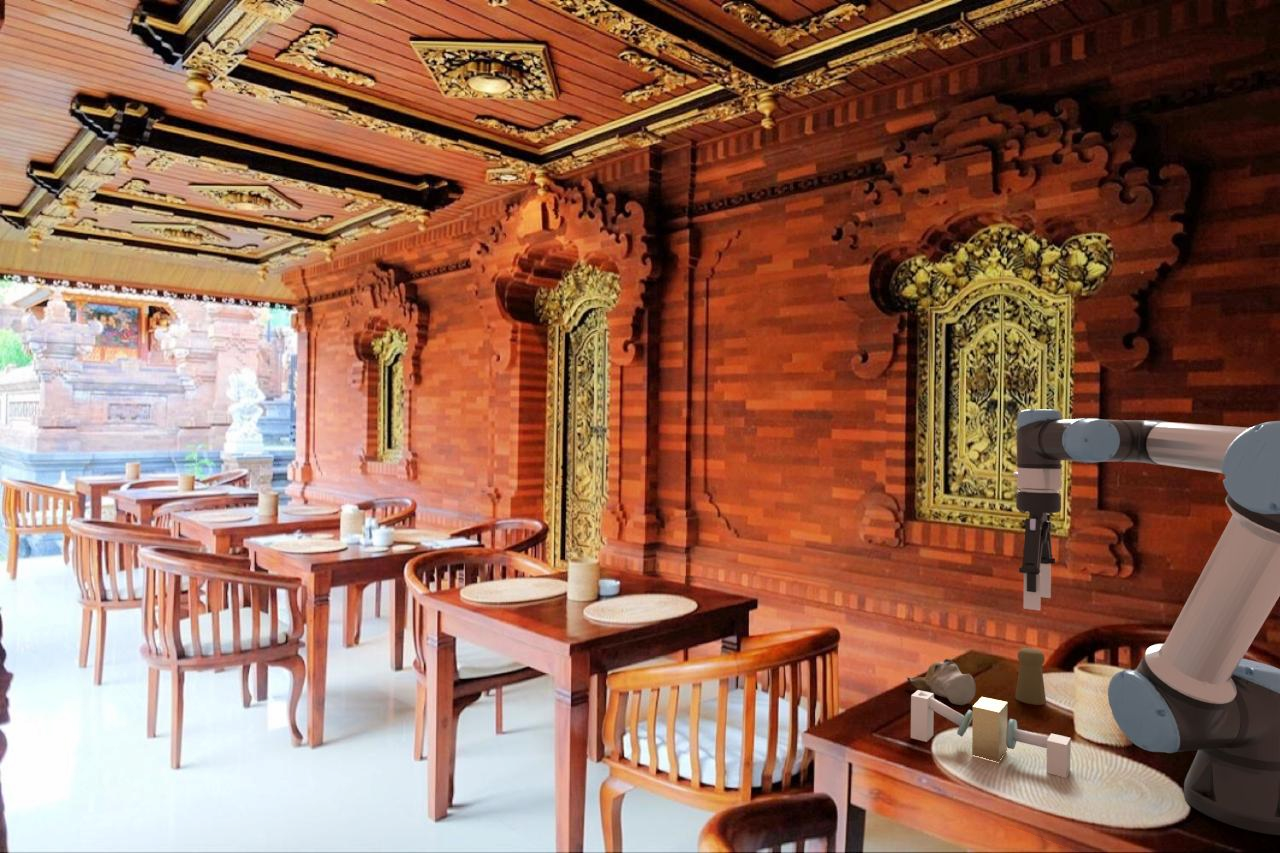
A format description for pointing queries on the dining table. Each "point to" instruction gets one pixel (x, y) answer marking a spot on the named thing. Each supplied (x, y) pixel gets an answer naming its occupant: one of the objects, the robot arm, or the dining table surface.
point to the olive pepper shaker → (1030, 677)
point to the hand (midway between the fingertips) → (1037, 603)
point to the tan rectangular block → (989, 728)
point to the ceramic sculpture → (947, 682)
